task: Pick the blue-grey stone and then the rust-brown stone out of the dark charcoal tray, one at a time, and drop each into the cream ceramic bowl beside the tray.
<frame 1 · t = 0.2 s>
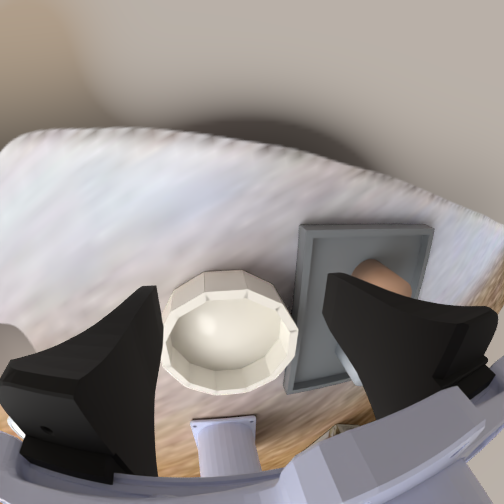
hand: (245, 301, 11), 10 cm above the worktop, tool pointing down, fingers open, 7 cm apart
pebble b: (367, 277, 24), resting on tray
bowl: (225, 327, 23), on the worktop
tray: (356, 311, 25), on the worktop
pebble a: (350, 344, 26), resting on tray
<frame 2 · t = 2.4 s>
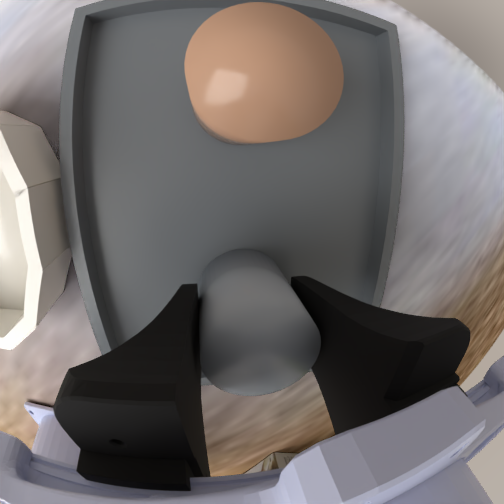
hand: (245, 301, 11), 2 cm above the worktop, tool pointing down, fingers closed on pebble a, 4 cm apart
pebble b: (241, 98, 9), resting on tray
tray: (239, 196, 11), on the worktop
coffee box: (272, 469, 21), on the worktop
pebble a: (241, 289, 12), resting on tray, touching gripper
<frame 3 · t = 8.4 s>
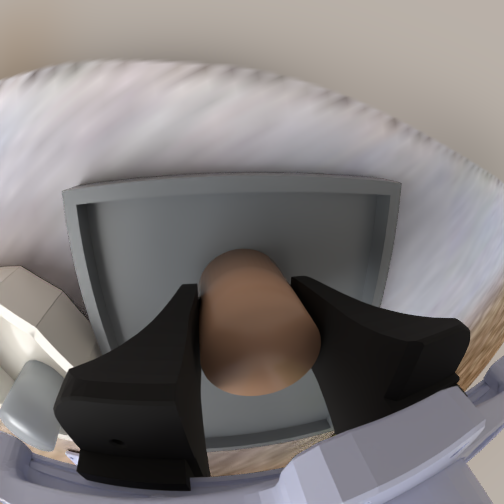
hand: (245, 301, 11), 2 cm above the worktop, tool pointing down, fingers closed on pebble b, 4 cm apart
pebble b: (241, 289, 12), resting on tray, touching gripper
bowl: (34, 348, 12), on the worktop
tray: (241, 349, 14), on the worktop
pebble a: (46, 382, 12), point 1 cm above the worktop, touching bowl
when the fingers open (4 cm above the worktop, at t = 11.4 s): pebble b drops 2 cm, resting on bowl.
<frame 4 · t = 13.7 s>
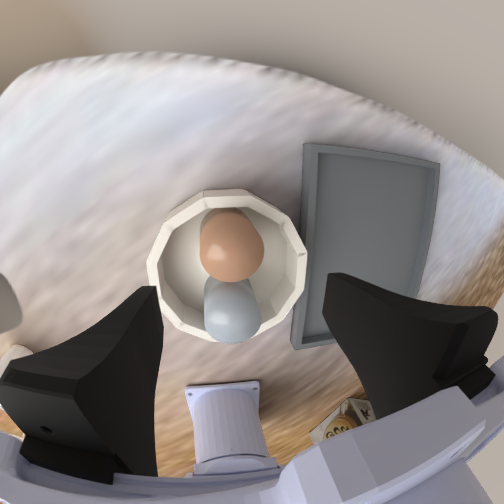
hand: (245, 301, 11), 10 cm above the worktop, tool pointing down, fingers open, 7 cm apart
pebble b: (225, 230, 20), point 1 cm above the worktop, touching bowl
bowl: (224, 259, 21), on the worktop
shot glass: (27, 361, 22), on the worktop
tray: (367, 250, 24), on the worktop
coffee box: (340, 416, 34), on the worktop
pebble a: (227, 290, 22), point 1 cm above the worktop, touching bowl
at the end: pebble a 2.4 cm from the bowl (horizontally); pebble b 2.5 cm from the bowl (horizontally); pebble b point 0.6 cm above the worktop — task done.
